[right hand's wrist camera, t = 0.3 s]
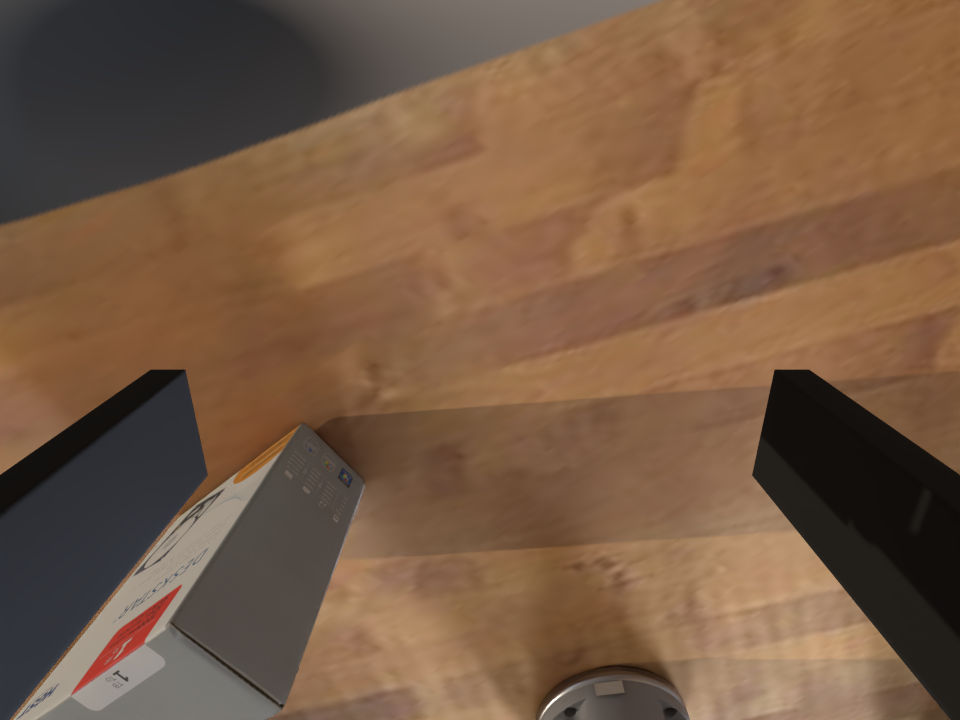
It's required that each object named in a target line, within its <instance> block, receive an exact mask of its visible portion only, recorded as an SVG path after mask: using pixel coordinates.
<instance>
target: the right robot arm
mask: <svg viewBox="0 0 960 720" xmlns="http://www.w3.org/2000/svg"><path fill="white" fill-rule="evenodd" d="M207 476H208V474H207V469H206V465H205V460H204V455H203V450H202V446H201V441H200V436H199V432H198V427H197V422H196V418H195V413H194V408H193V404H192V399H191V394H190V390H189V385H188V380H187V375H186V371H185V370H150V371H148V372H147V373H145V374H144V375H143V376H141V377H140V378H138V379H137V380H135V381H134V382H133V383H131V384H130V385H128V386H127V387H125V388H124V389H123V390H121V391H120V392H118V393H117V394H115V395H114V396H113V397H111V398H110V399H108V400H107V401H105V402H104V403H103V404H101V405H100V406H98V407H97V408H95V409H94V410H92V411H91V412H90V413H88V414H87V415H85V416H84V417H82V418H81V419H80V420H78V421H77V422H75V423H74V424H72V425H71V426H70V427H68V428H67V429H65V430H64V431H62V432H61V433H60V434H58V435H57V436H55V437H54V438H52V439H51V440H50V441H48V442H47V443H45V444H44V445H42V446H41V447H40V448H38V449H37V450H35V451H34V452H32V453H31V454H30V455H28V456H27V457H25V458H24V459H22V460H21V461H20V462H18V463H17V464H15V465H14V466H12V467H11V468H9V469H8V470H7V471H5V472H4V473H2V474H1V475H0V720H10V718H11V717H12V716H13V715H14V713H15V712H16V711H17V710H18V709H19V707H20V706H21V705H22V704H23V702H24V701H25V700H26V699H27V697H28V696H29V695H30V694H31V693H32V691H33V690H34V689H35V688H36V686H37V685H38V684H39V683H40V681H41V680H42V679H43V678H44V676H45V675H46V674H47V673H48V672H49V670H50V669H51V668H52V667H53V665H54V664H55V663H56V662H57V660H58V659H59V658H60V657H61V656H62V654H63V653H64V652H65V651H66V649H67V648H68V647H69V646H70V644H71V643H72V642H73V641H74V639H75V638H76V637H77V636H78V635H79V633H80V632H81V631H82V630H83V628H84V627H85V626H86V625H87V623H88V622H89V621H90V620H91V619H92V617H93V616H94V615H95V614H96V612H97V611H98V610H99V609H100V607H101V606H102V605H103V604H104V603H105V601H106V600H107V599H108V598H109V596H110V595H111V594H112V593H113V591H114V590H115V589H116V588H117V586H118V585H119V584H120V583H121V582H122V580H123V579H124V578H125V577H126V575H127V574H128V573H129V572H130V570H131V569H132V568H133V567H134V566H135V564H136V563H137V562H138V561H139V559H140V558H141V557H142V556H143V554H144V553H145V552H146V551H147V550H148V548H149V547H150V546H151V545H152V543H153V542H154V541H155V540H156V538H157V537H158V536H159V535H160V533H161V532H162V531H163V530H164V529H165V527H166V526H167V525H168V524H169V522H170V521H171V520H172V519H173V517H174V516H175V515H176V514H177V513H178V511H179V510H180V509H181V508H182V506H183V505H184V504H185V503H186V501H187V500H188V499H189V498H190V497H191V495H192V494H193V493H194V492H195V490H196V489H197V488H198V487H199V485H200V484H201V483H202V482H203V480H204V479H205V478H206V477H207ZM752 476H753V477H754V478H755V479H756V480H757V482H758V483H759V484H760V485H761V487H762V488H763V489H764V490H765V492H766V493H767V494H768V495H769V497H770V498H771V499H772V500H773V501H774V503H775V504H776V505H777V506H778V508H779V509H780V510H781V511H782V513H783V514H784V515H785V516H786V517H787V519H788V520H789V521H790V522H791V524H792V525H793V526H794V527H795V529H796V530H797V531H798V532H799V533H800V535H801V536H802V537H803V538H804V540H805V541H806V542H807V543H808V545H809V546H810V547H811V548H812V550H813V551H814V552H815V553H816V554H817V556H818V557H819V558H820V559H821V561H822V562H823V563H824V564H825V566H826V567H827V568H828V569H829V570H830V572H831V573H832V574H833V575H834V577H835V578H836V579H837V580H838V582H839V583H840V584H841V585H842V586H843V588H844V589H845V590H846V591H847V593H848V594H849V595H850V596H851V598H852V599H853V600H854V601H855V603H856V604H857V605H858V606H859V607H860V609H861V610H862V611H863V612H864V614H865V615H866V616H867V617H868V619H869V620H870V621H871V622H872V623H873V625H874V626H875V627H876V628H877V630H878V631H879V632H880V633H881V635H882V636H883V637H884V638H885V640H886V641H887V642H888V643H889V644H890V646H891V647H892V648H893V649H894V651H895V652H896V653H897V654H898V656H899V657H900V658H901V659H902V660H903V662H904V663H905V664H906V665H907V667H908V668H909V669H910V670H911V672H912V673H913V674H914V675H915V676H916V678H917V679H918V680H919V681H920V683H921V684H922V685H923V686H924V688H925V689H926V690H927V691H928V693H929V694H930V695H931V696H932V697H933V699H934V700H935V701H936V702H937V704H938V705H939V706H940V707H941V709H942V710H943V711H944V712H945V713H946V715H947V716H948V717H949V718H950V720H960V475H959V474H958V473H956V472H955V471H953V470H952V469H951V468H949V467H948V466H946V465H945V464H943V463H942V462H940V461H939V460H938V459H936V458H935V457H933V456H932V455H930V454H929V453H928V452H926V451H925V450H923V449H922V448H920V447H919V446H918V445H916V444H915V443H913V442H912V441H910V440H909V439H908V438H906V437H905V436H903V435H902V434H900V433H899V432H898V431H896V430H895V429H893V428H892V427H890V426H889V425H888V424H886V423H885V422H883V421H882V420H880V419H879V418H878V417H876V416H875V415H873V414H872V413H870V412H869V411H868V410H866V409H865V408H863V407H862V406H860V405H859V404H857V403H856V402H855V401H853V400H852V399H850V398H849V397H847V396H846V395H845V394H843V393H842V392H840V391H839V390H837V389H836V388H835V387H833V386H832V385H830V384H829V383H827V382H826V381H825V380H823V379H822V378H820V377H819V376H817V375H816V374H815V373H813V372H812V371H810V370H775V371H774V375H773V380H772V385H771V390H770V394H769V399H768V404H767V408H766V413H765V418H764V422H763V427H762V432H761V436H760V441H759V446H758V450H757V455H756V460H755V465H754V469H753V474H752ZM536 720H690V719H689V716H688V713H687V710H686V707H685V705H684V702H683V700H682V697H681V696H680V694H679V693H678V691H677V690H676V689H675V688H674V687H673V686H672V685H671V684H670V683H669V682H667V681H666V680H665V679H663V678H661V677H659V676H657V675H655V674H653V673H650V672H647V671H644V670H640V669H635V668H628V667H607V668H599V669H594V670H590V671H586V672H583V673H580V674H577V675H575V676H573V677H571V678H569V679H567V680H565V681H563V682H562V683H560V684H559V685H558V686H556V687H555V688H554V689H553V690H552V691H550V693H549V694H548V695H547V696H546V697H545V698H544V700H543V701H542V703H541V705H540V707H539V709H538V712H537V716H536Z"/></svg>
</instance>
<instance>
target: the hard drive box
mask: <svg viewBox="0 0 960 720" xmlns="http://www.w3.org/2000/svg"><path fill="white" fill-rule="evenodd" d="M364 488H365V484H364V480H363V479H362V478H361V477H360V476H359V475H358V474H357V473H356V472H355V471H354V470H353V469H351V468H350V467H349V466H348V465H347V463H345V462H344V461H343V460H342V459H341V458H340V457H339V456H338V455H337V454H336V453H335V452H334V451H333V450H332V449H331V448H330V447H329V446H328V445H327V444H326V443H325V442H324V441H323V440H322V439H321V438H320V437H319V436H318V435H317V434H316V433H315V432H314V431H312V430H311V429H310V428H309V427H308V426H307V425H306V424H305V423H302V424H300V425H299V426H298V427H296V428H295V429H293V430H292V431H291V432H289V433H288V434H287V435H286V436H284V437H283V438H282V439H280V440H279V441H277V442H276V443H275V444H273V445H272V446H271V447H270V448H268V449H267V450H266V451H264V452H263V453H262V454H261V455H259V456H258V457H257V458H256V459H254V460H253V461H252V462H250V463H249V464H248V465H246V466H245V467H244V468H243V469H241V470H240V471H239V472H237V473H236V474H235V475H233V476H232V477H231V478H229V479H228V480H227V481H225V482H224V483H223V484H221V485H220V486H219V487H218V488H216V489H215V490H213V491H212V492H211V493H209V494H208V495H207V496H206V497H204V498H203V499H202V500H200V501H199V502H198V503H196V504H195V505H194V506H193V507H192V508H190V509H189V510H188V511H186V512H185V513H184V514H182V515H181V516H180V517H179V518H178V519H177V520H176V521H175V522H174V523H173V525H172V526H171V527H170V528H169V530H168V531H167V532H166V533H165V535H164V536H163V537H162V538H161V539H160V541H159V542H158V543H157V544H156V545H155V547H154V548H153V549H152V550H151V552H150V553H149V554H148V555H147V557H146V558H145V559H144V560H143V561H142V563H141V564H140V565H139V566H138V568H137V569H136V570H135V571H134V573H133V574H132V575H131V576H130V578H129V579H128V580H127V581H126V583H125V584H124V585H123V586H122V587H121V589H120V590H119V591H118V592H117V594H116V595H115V596H114V597H113V599H112V600H111V601H110V602H109V603H108V605H107V606H106V607H105V608H104V609H103V611H102V612H101V613H100V614H99V616H98V617H97V618H96V619H95V621H94V622H93V623H92V624H91V626H90V627H89V628H88V629H87V630H86V632H85V633H84V634H83V635H82V636H81V638H80V639H79V640H78V641H77V643H76V644H75V645H74V646H73V648H72V649H71V650H70V651H69V652H68V654H67V655H66V656H65V657H64V659H63V660H62V661H61V662H60V664H59V665H58V666H57V667H56V668H55V670H54V671H53V672H52V673H51V675H50V676H49V677H48V678H47V679H46V681H45V682H44V683H43V684H42V686H41V687H40V688H39V689H38V691H37V692H36V693H35V694H34V695H33V697H32V698H31V699H30V700H29V702H28V703H27V704H26V705H25V706H24V708H23V709H22V710H21V711H20V712H19V714H18V715H17V716H16V717H15V718H14V720H267V719H268V718H270V717H271V716H273V715H275V714H276V713H278V712H279V711H281V710H282V709H283V707H284V705H285V703H286V701H287V698H288V695H289V693H290V690H291V687H292V685H293V682H294V679H295V676H296V674H297V672H298V670H299V665H300V663H301V660H302V657H303V654H304V651H305V649H306V646H307V644H308V640H309V638H310V635H311V632H312V629H313V627H314V624H315V621H316V618H317V616H318V613H319V610H320V607H321V605H322V602H323V599H324V597H325V594H326V591H327V589H328V586H329V583H330V581H331V578H332V575H333V573H334V570H335V567H336V564H337V562H338V559H339V556H340V553H341V551H342V548H343V545H344V543H345V540H346V537H347V534H348V532H349V529H350V526H351V524H352V521H353V518H354V516H355V513H356V510H357V507H358V505H359V502H360V499H361V497H362V494H363V491H364Z"/></svg>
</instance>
